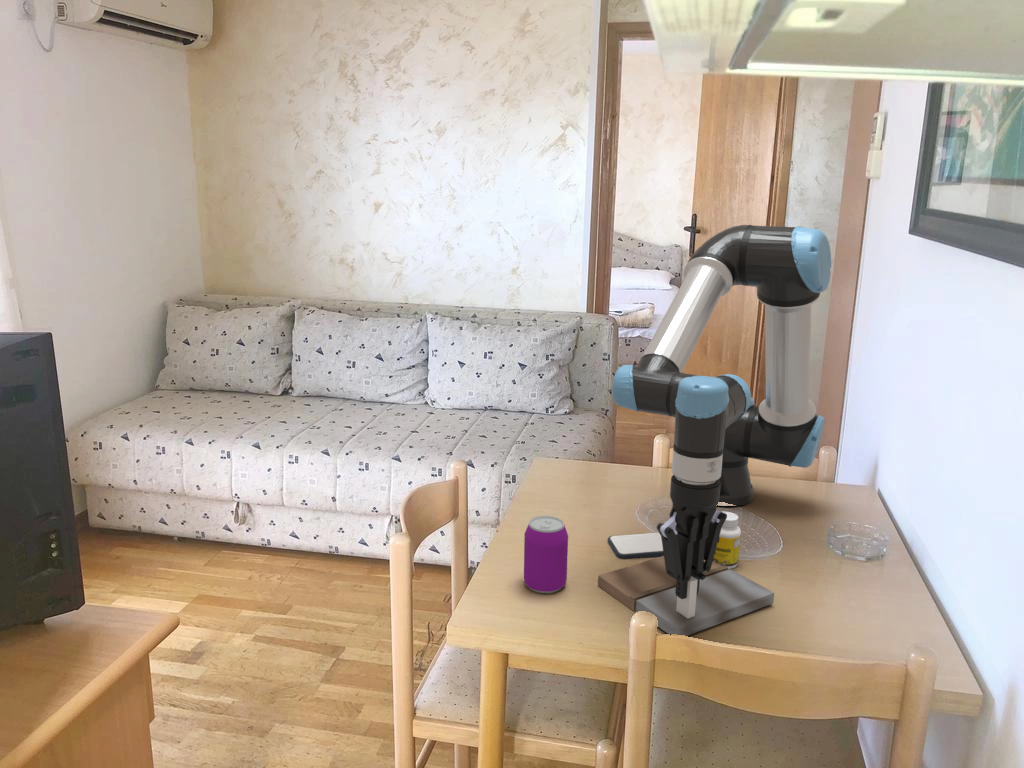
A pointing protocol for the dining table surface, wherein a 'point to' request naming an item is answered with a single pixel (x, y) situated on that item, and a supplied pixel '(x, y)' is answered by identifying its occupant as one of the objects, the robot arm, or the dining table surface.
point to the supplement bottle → (728, 542)
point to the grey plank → (708, 603)
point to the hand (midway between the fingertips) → (685, 613)
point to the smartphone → (637, 545)
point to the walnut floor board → (642, 580)
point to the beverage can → (545, 554)
